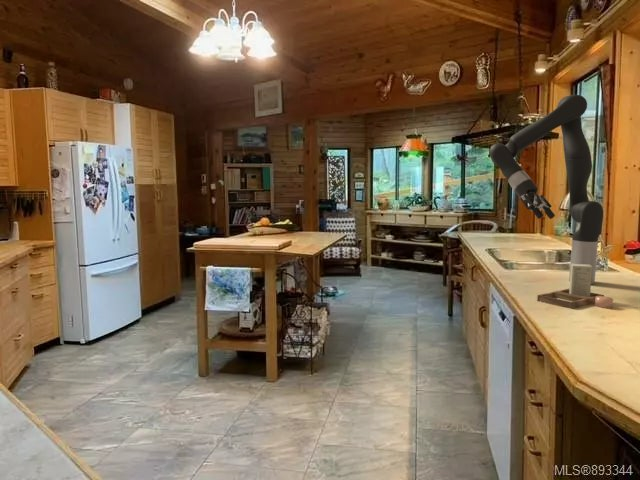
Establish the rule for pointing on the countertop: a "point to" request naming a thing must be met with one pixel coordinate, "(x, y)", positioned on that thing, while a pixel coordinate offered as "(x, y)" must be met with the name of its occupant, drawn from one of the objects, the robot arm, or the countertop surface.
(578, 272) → the skincare box
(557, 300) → the walnut organizer
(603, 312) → the countertop surface
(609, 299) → the pinkish brown rounded piece
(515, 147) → the robot arm
